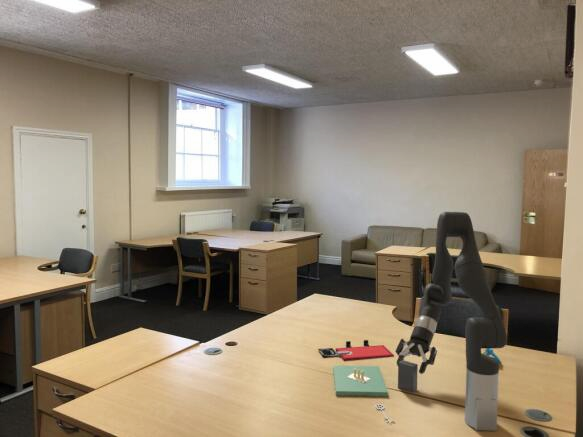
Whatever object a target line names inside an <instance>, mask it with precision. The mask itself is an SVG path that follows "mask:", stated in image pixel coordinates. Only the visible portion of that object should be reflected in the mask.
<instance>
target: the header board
mask: <svg viewBox="0 0 583 437" xmlns="http://www.w3.org/2000/svg"><path fill="white" fill-rule="evenodd" d="M332 366H333V367H332V369H333V378H334V379H333V380H334V381H333V382H334V390H335V391H336V392H335V396H348V395H366V396H365V397H388V395H389V391H388V388H387V386H386V382H385V380H384V377H383V374H382V371H381V367H380V365H337V364H336V365H335V364H333V365H332ZM367 395H368V396H367Z"/></svg>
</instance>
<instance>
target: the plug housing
mask: <svg viewBox="0 0 583 437" xmlns="http://www.w3.org/2000/svg"><path fill="white" fill-rule="evenodd" d="M418 366H419V365H418V364H417V363H415V362H412V361H411V362H410V361H407V360H405V359H404V360H401V361H400V362H398V366H397V372H398V373H397V388H398V389H400V390H403V391H406V392H409V393H412V394H413V393H415V392H417V391H418V371H419V370H418Z"/></svg>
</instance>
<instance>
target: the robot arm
mask: <svg viewBox="0 0 583 437" xmlns="http://www.w3.org/2000/svg"><path fill="white" fill-rule="evenodd" d="M436 222H437V223H436V235H435V237H436V240H435V259H434V265H433V269H432V275H431V280H432V282H433V283H428V284H427V285H425V287H424V290H423V303H422V307H421V311H420V313H419V315H418V318H417V320H416V322H415V325H414V327H413V330H412V332H411V334H410V338H409V340H407V341H406V340H405V339H404V338H401V339H400V341H399V342H398V344H397V347H396V349H395V351H394V352H395V353H396V355H397V356H398V358H397V360H396V366H397V367H398V362H400V361H401V360H404V361H405V358H406V357H408V356H410V355H412V356H415V357H416V356H417V357H418V358H420V357H421V359H422V362H421V363H420V367H419V370H418V373H419V374H420V375H423V374H425V372H426V370H427V368H428V365H431V366H434V364H435V362H436V361H435V360H436V356H437V353H438V350H437V348H436V347H435V346H432V347H431V344H432V341H433V338H434V335H435V333H436V330H437V326H438V322H439V319H440V317H441V314H442V312H441V309H440V308H439V307H438V306H436V305H434V304H437V305H440V306H443V307H445V306H448V305H449V304H451V301H452V299H453V298H452V297H453V296H452V295H453V293H452V286H451V284H452V283H451V280H452V277H453V272H455V273H454V274H455V276H456V281H457V284H458V286H459V288H460V289H461V291H462V292H464V294H465V295H466V296H467V297H469V298H470V300H472V301H473V302H474V303H475V305H476V306H478V308H479V310H480V311H481V313H482V315H483V317H482V316H481V317H480V316H479V317H477V316H476V317H469V318H468V319H467V320H466V322H465V330H464V332H465V362H466V364H465V366H466V368H465V395H464V422H465V423H466V425H468V426H470V427H472V428H473V429H474V430H475V431H488V432H489V431H493V432H494V431H495V432H496V431H497V426H498V406H499V405H498V403H499V402H498V399H499V382H500V381H499V376H500V374H499V373H500V364H499V363H500V362H498V361H497V360H496V359H495V358H494V357H493V356H492V357H491V356H490V355H489V356H487V355H485V354H482V353H483V352H482V349H486V348H490V349H492V350H494V349H502V348H504V347H506V345H507V342H508V335H507V331H506V330H507V329H506V326H505V324H504V321H503V318H502V316H501V313H500V311H499V308H498V306H497V304H496V302H495V299H494V297H493V293H492V291H491V288H490V284H489V281H488V277H487V273H486V269H485V267H484V264H483V261H482V259H481V255H480V253H479V249H478V246H477V241H476V236H475V230H474V226H473V222H472V219H471V217H470V215H469V213H467V212H463V211H442V212H441V213H439V215H438V218H437V221H436ZM447 238H460V239H461V241H462V247H461V250H460V252H459V254H458V256H457V258H456V259H455V263H454V260H453V258H452V255H451V254H450V251H449V249H448V246H447ZM434 283H435V284H434ZM433 303H434V304H433ZM428 352H429V353H430V354H429V356H428V359H427V355H426V353H428Z"/></svg>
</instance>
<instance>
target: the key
mask: <svg viewBox="0 0 583 437" xmlns="http://www.w3.org/2000/svg"><path fill="white" fill-rule="evenodd" d="M377 405H378V406H377ZM379 405H381V406H379ZM382 406H383V407H382ZM375 407H376V408H377V409H381V410H382V409H384V408H385V405H384V404H382V403H376V404H374V408H375ZM378 407H382V408H378ZM376 408H375V409H376ZM377 409H376V410H377ZM381 410H380V411H381ZM384 410H385V409H384ZM384 410H382V412H383V413H382V412H381V413H382V415H383V414H384V415H385V416H384V415H383V416H384V418H385V417H386V418H387V419H388V417H389V416H387V414H386V413H385V411H384ZM389 419H390V418H389ZM389 419H388V420H387V422H388V421H389V422H390V420H389ZM390 423H391V422H390ZM390 423H389V424H390ZM391 424H392V423H391Z"/></svg>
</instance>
